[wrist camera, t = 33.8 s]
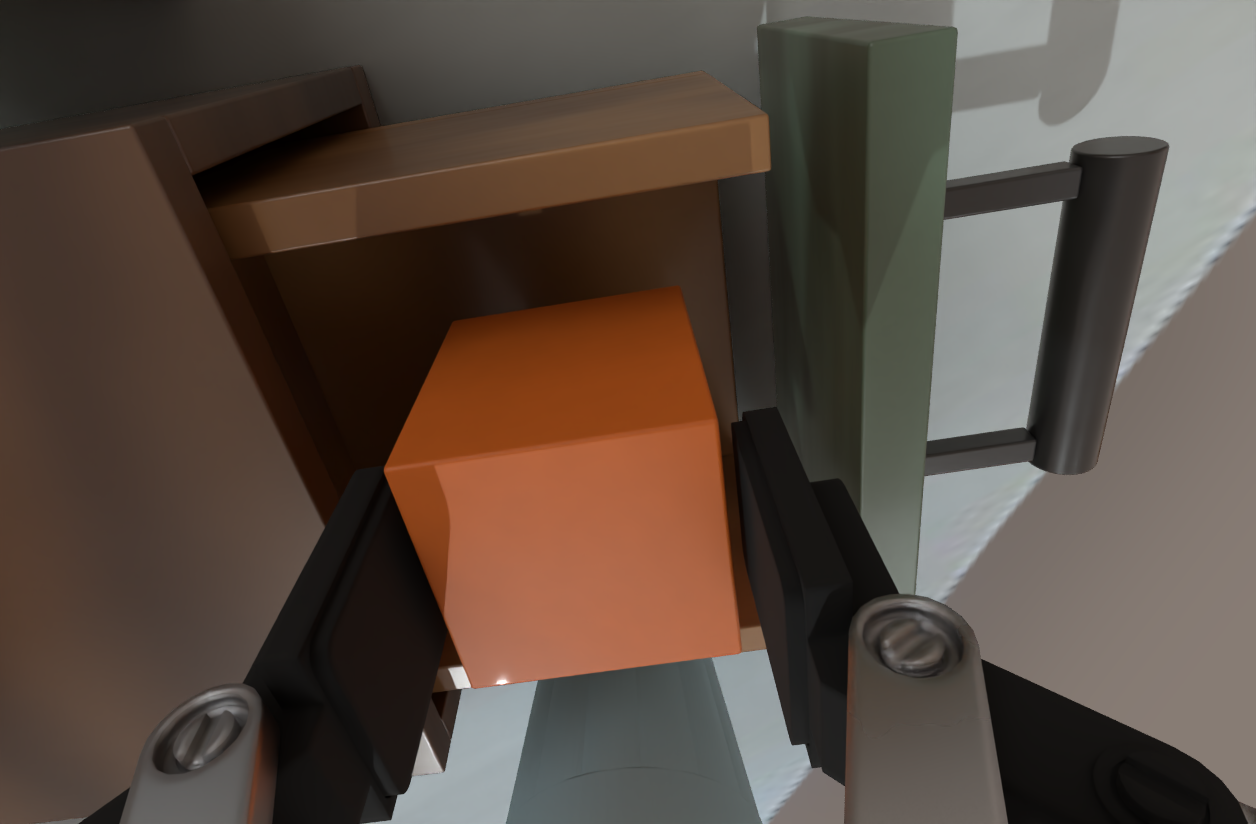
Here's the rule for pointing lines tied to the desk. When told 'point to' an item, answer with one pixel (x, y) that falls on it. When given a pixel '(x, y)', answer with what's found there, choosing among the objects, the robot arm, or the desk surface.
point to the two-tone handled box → (694, 258)
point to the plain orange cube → (571, 491)
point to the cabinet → (144, 437)
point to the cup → (632, 751)
